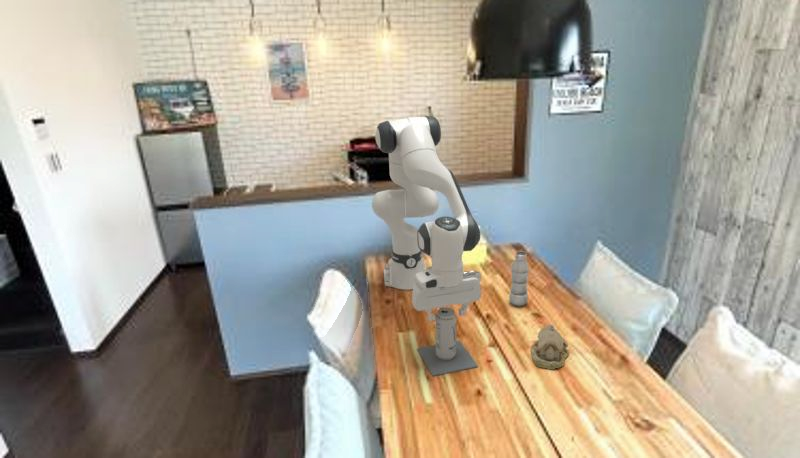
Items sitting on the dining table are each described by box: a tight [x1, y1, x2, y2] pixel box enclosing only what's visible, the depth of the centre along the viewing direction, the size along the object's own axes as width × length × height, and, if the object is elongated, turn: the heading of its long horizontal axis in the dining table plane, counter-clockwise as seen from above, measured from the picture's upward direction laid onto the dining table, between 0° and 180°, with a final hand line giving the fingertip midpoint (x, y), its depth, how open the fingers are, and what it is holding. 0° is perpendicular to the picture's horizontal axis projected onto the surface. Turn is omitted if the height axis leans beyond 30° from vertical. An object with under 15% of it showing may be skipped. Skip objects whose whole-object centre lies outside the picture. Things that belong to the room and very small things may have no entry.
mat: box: [416, 340, 479, 377], centre depth 138 cm, size 14×14×1 cm
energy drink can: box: [435, 307, 457, 360], centre depth 136 cm, size 6×6×15 cm
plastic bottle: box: [508, 251, 530, 307], centre depth 166 cm, size 6×7×20 cm
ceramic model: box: [530, 323, 570, 370], centre depth 137 cm, size 14×11×10 cm
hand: (446, 317), depth 134 cm, fingers open, 8 cm apart
